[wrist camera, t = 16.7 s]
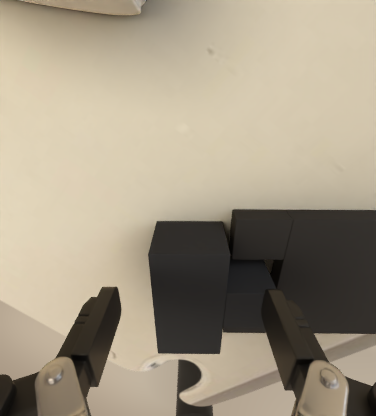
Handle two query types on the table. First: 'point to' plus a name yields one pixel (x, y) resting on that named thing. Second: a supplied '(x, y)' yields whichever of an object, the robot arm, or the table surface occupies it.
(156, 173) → the table surface
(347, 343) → the table surface
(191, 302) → the black t-shaped block
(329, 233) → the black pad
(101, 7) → the photo printer
